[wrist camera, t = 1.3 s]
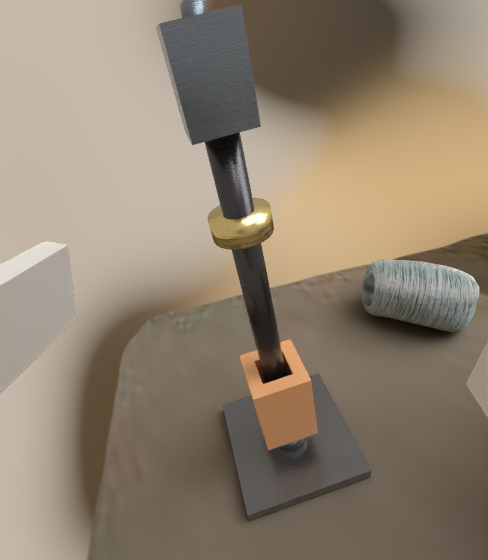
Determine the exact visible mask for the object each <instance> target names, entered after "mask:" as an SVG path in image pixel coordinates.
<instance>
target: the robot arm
mask: <svg viewBox="0 0 488 560" xmlns="http://www.w3.org/2000/svg"><path fill="white" fill-rule="evenodd" d="M75 321H76V312H75V303H74V293H73V284H72V276H71V266H70V257H69V248H68V245H66V244H59V243H52V242H46V241H44V242H42V243H40V244H38V245H36V246H35V247H33V248H31V249H29V250H27V251H25V252H23V253H22V254H19V255H18V256H16V257H14V258H12V259H10V260H8V261H6V262H4V263H2V264H0V394H1V393H2V392H3V391H4V390H5V389H6V388H7V387H8V386H9V385H10V384H11V383H12V382H13V381H14V380H15V379H16V378H17V377H18V376H19V375H20V374H21V373H22V372H23V371H24V370H25V369H26V368H28V367H29V366H30V364H31V363H32V362H34V361H35V360H36V359H37V358H38V357H39V356H40V355H41V354H42V353H43V352H44V351H45V350H46V349H47V348H48V347H49V346H50V345H51V344H52V343H53V342H54V341H55V340H56V339H57V338H58V337H59V336H60V335H61V334H62V333H63V332H64V331H65V330H66V329H67V328H69V327H70V326H71V325H72V324H73V322H75ZM466 385H467V387H468V388H469V390H470V391H471V393H472V394H473V396H474V397H475V399H476V400H477V402H478V403H479V405H480V407H481V408H482V410H483V411H484V413H485V414H486V416H487V417H488V341H487V343H486V345H485V347H484V349H483V351H482V353H481V355H480V357H479V359H478V361H477V363H476V365H475V367H474V369H473V371H472V373H471V375H470V377H469V379H468V381H467V383H466Z"/></svg>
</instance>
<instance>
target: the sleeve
mask: <svg viewBox="0 0 488 560" xmlns="http://www.w3.org/2000/svg"><path fill="white" fill-rule="evenodd" d="M280 345H281V350H282V355H283V360H284V365H285V371H286V377H283V378H280V379H277V380H274V381H271V382H268V383H265V380H264V376H263V372H262V368H261V364H260V360H259V356H258V352H257V350H256V351H253V352H250V353H247V354H244V355H241V356H240V360H241V363H242V366H243V370H244V373H245V376H246V380H247V383H248V386H249V390H250V393H251V397H252V400H253V403H254V407H255V410H256V413H257V416H258V419H259V422H260V426H261V429H262V432H263V435H264V438H265V442H266V445H267V448H268V450H271V449H274V448H277V447H280V446H283V445H286V444H288V443H291V442H294V441H297V440H300V439H303V438H306V437H308V436H311V435H314V434H317V433H318V428H317V421H316V413H315V405H314V398H313V390H312V382H311V379H310V377H309V375H308V373H307V371H306V369H305V367H304V365H303V363H302V361H301V359H300V357H299V355H298V353H297V351H296V349H295V347H294V345H293V343H292V341H291V339H290V340H287V341H284V342H281V343H280Z"/></svg>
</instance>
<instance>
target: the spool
mask: <svg viewBox="0 0 488 560" xmlns="http://www.w3.org/2000/svg"><path fill="white" fill-rule="evenodd" d="M478 297H479V286H478V284H477V283H476V281H475V279H474V278H473V277H472V276H470V275H469V274H467V273H465V272H463V271H460V270H457V269H454V268H451V267H448V266H443V265H438V264H432V263H428V262H418V261H406V260H385V259H382V260H378V261H376V262H374V263H372V264H371V265H370V266H369V267H368V269H367V271H366V274H365V276H364V280H363V284H362V302H363V305H364V308H365V310H366V311H367V312H368V313H370V314H372V315H375V316H382V317H388V318H393V319H396V320H401V321H405V322H410V323H414V324H418V325H422V326H426V327H431V328H435V329H438V330H445V331H450V332H457V331H460V330H462V329H463V328H465V327H466V326H467V325H468V324H469V323H470V321H471V319H472V317H473V314H474V312H475V309H476V304H477V301H478Z"/></svg>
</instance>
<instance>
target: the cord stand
mask: <svg viewBox="0 0 488 560" xmlns="http://www.w3.org/2000/svg"><path fill="white" fill-rule="evenodd" d="M178 2H179V6H180V10H181V14H182V18H181V19H177V20H173V21H168V22H164V23H160V24H158V26H157V27H156V29H157V32H158V35H159V39H160V43H161V47H162V50H163V54H164V57H165V61H166V65H167V68H168V72H169V75H170V79H171V82H172V86H173V90H174V93H175V97H176V100H177V104H178V107H179V111H180V115H181V118H182V122H183V125H184V129H185V132H186V134H187V136H188V138H189V140H190V142H191V143H192V145H194V144H198V143H202V142H205V145H206V149H207V153H208V157H209V161H210V165H211V169H212V173H213V177H214V181H215V185H216V189H217V193H218V197H219V200H220V206H218V207H216V208H215V209H213V211H211V212H210V214H209V216H208V223H209V226H210V230H211V233H212V237H213V240H214V243H215V244H216V245H217V246H219V247H221V248H224V249H232V252H233V257H234V261H235V265H236V269H237V273H238V276H239V280H240V284H241V288H242V292H243V296H244V300H245V304H246V308H247V312H248V316H249V320H250V324H251V328H252V332H253V336H254V340H255V344H256V348H257V352H258V356H259V360H260V364H261V368H262V372H263V376H264V380H265V383H268V382H271V381H274V380H277V379H280V378H283V377H286V371H285V365H284V360H283V355H282V350H281V345H280V339H279V334H278V329H277V324H276V319H275V313H274V308H273V303H272V298H271V293H270V287H269V282H268V277H267V272H266V267H265V262H264V256H263V251H262V246H261V242H263V241H265V240H266V239H268V238H269V237H270V236H271V235H272V233H273V230H274V226H273V220H272V214H271V208H270V204H269V203H268V202H267V201H266V200H263V199H259V198H252V194H251V189H250V184H249V178H248V173H247V168H246V163H245V158H244V152H243V147H242V142H241V137H240V132H242V131H246V130H250V129H253V128H257V127H260V119H259V113H258V106H257V100H256V94H255V88H254V81H253V74H252V68H251V62H250V55H249V50H248V43H247V37H246V30H245V24H244V18H243V11H242V5H241V4H240V5H236V6H231V7H227V8H223V9H219V10H215V11H210V12H208V11H207V6H206V2H205V0H178ZM309 377H310V379H311V382H312V390H313V398H314V405H315V413H316V421H317V428H318V433H317V434H314V435H311V436H308V437H306V438H303V439H300V440H297V441H294V442H291V443H288V444H286V445H283V446H280V447H277V448H274V449H271V450H268V448H267V445H266V442H265V438H264V435H263V432H262V429H261V426H260V422H259V419H258V416H257V413H256V410H255V407H254V403H253V400H252V397H251V396H249V397H246V398H243V399H240V400H237V401H234V402H231V403H228V404H225V405H223V410H224V414H225V419H226V423H227V428H228V432H229V436H230V441H231V445H232V450H233V454H234V458H235V463H236V467H237V472H238V476H239V481H240V485H241V489H242V494H243V498H244V503H245V507H246V511H247V516H248V518H249V520H250V521H251V520H254V519H257V518H259V517H262V516H265V515H268V514H270V513H273V512H276V511H279V510H281V509H284V508H287V507H289V506H292V505H295V504H298V503H300V502H303V501H306V500H309V499H311V498H314V497H317V496H319V495H322V494H325V493H328V492H330V491H333V490H336V489H339V488H341V487H344V486H347V485H349V484H352V483H355V482H358V481H360V480H363V479H366V478H369V477H371V470H370V468H369V466H368V464H367V462H366V461H365V459H364V457H363V455H362V453H361V451H360V449H359V448H358V446H357V444H356V442H355V440H354V438H353V436H352V435H351V433H350V431H349V429H348V427H347V425H346V424H345V422H344V420H343V418H342V416H341V414H340V412H339V411H338V409H337V407H336V405H335V403H334V401H333V399H332V398H331V396H330V394H329V392H328V390H327V388H326V387H325V385H324V383H323V381H322V379H321V377H320V375H319V374H315V375H312V376H309Z"/></svg>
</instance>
